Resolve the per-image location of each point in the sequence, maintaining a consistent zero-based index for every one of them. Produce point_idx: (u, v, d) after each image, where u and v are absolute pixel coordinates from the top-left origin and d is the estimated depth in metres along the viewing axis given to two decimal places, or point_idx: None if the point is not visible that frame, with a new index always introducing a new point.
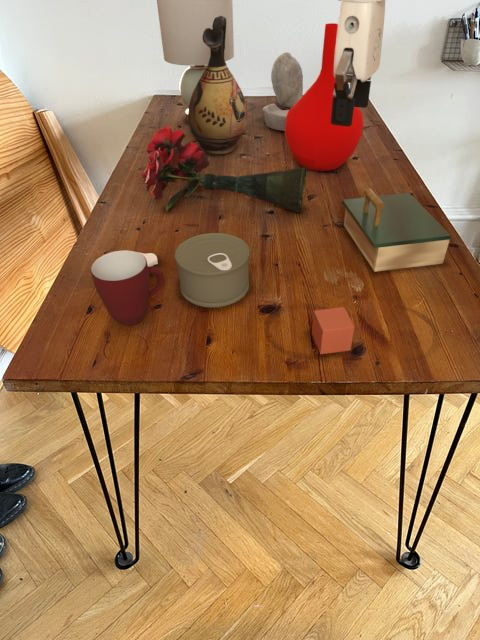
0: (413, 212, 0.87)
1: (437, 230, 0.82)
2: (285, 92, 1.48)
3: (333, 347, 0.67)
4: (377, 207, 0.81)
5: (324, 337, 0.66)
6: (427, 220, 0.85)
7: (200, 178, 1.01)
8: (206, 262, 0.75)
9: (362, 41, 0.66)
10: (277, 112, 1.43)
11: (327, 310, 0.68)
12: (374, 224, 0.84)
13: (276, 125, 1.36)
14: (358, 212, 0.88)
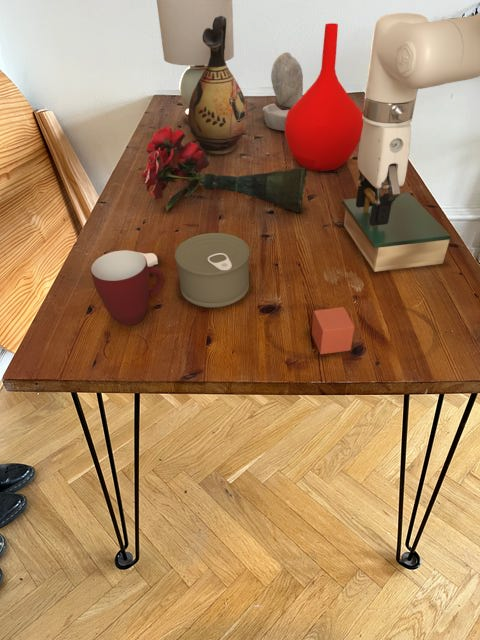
0: (413, 212, 0.87)
1: (437, 230, 0.82)
2: (285, 92, 1.48)
3: (333, 347, 0.67)
4: None
5: (324, 337, 0.66)
6: (427, 220, 0.85)
7: (200, 178, 1.01)
8: (206, 262, 0.75)
9: (405, 156, 0.74)
10: (277, 112, 1.43)
11: (327, 310, 0.68)
12: None
13: (276, 125, 1.36)
14: (358, 212, 0.88)
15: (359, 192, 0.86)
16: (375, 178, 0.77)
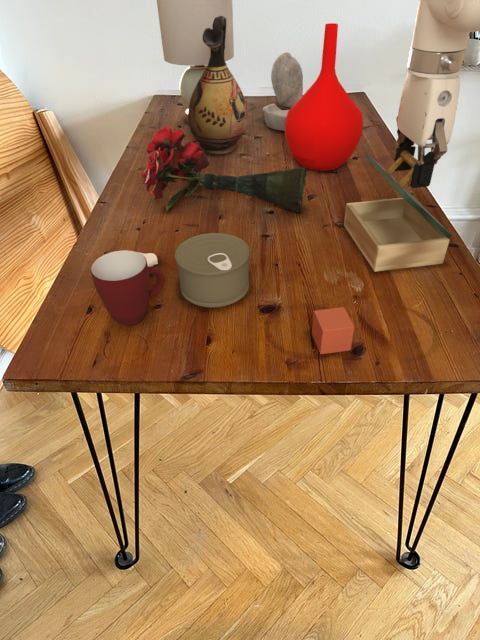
0: None
1: None
2: (285, 92, 1.48)
3: (333, 347, 0.67)
4: None
5: (324, 337, 0.66)
6: None
7: (200, 178, 1.01)
8: (206, 262, 0.75)
9: (453, 111, 0.70)
10: (277, 112, 1.43)
11: (327, 310, 0.68)
12: (400, 183, 0.79)
13: (276, 125, 1.36)
14: None
15: (398, 154, 0.82)
16: (420, 135, 0.73)
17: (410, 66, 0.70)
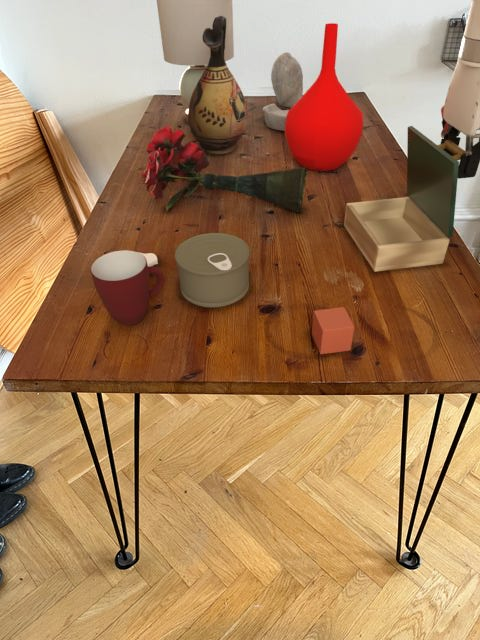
0: None
1: None
2: (285, 92, 1.48)
3: (333, 347, 0.67)
4: None
5: (324, 337, 0.66)
6: None
7: (200, 178, 1.01)
8: (206, 262, 0.75)
9: None
10: (277, 112, 1.43)
11: (327, 310, 0.68)
12: None
13: (276, 125, 1.36)
14: None
15: None
16: (469, 125, 0.73)
17: (462, 56, 0.70)
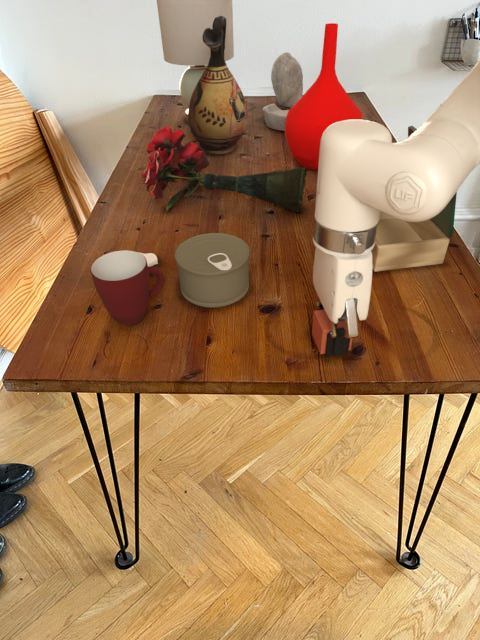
0: None
1: None
2: (285, 92, 1.48)
3: None
4: None
5: (324, 337, 0.66)
6: None
7: (200, 178, 1.01)
8: (206, 262, 0.75)
9: (366, 290, 0.58)
10: (277, 112, 1.43)
11: None
12: None
13: (276, 125, 1.36)
14: None
15: None
16: (330, 312, 0.61)
17: (314, 237, 0.58)
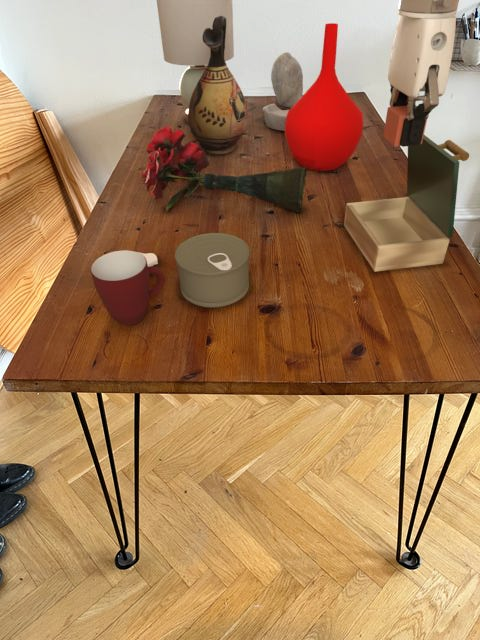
0: None
1: None
2: (285, 92, 1.48)
3: None
4: (464, 154, 0.77)
5: (400, 125, 0.72)
6: None
7: (200, 178, 1.01)
8: (206, 262, 0.75)
9: (448, 56, 0.64)
10: (277, 112, 1.43)
11: (400, 106, 0.74)
12: None
13: (276, 125, 1.36)
14: None
15: None
16: (412, 85, 0.67)
17: (401, 6, 0.64)
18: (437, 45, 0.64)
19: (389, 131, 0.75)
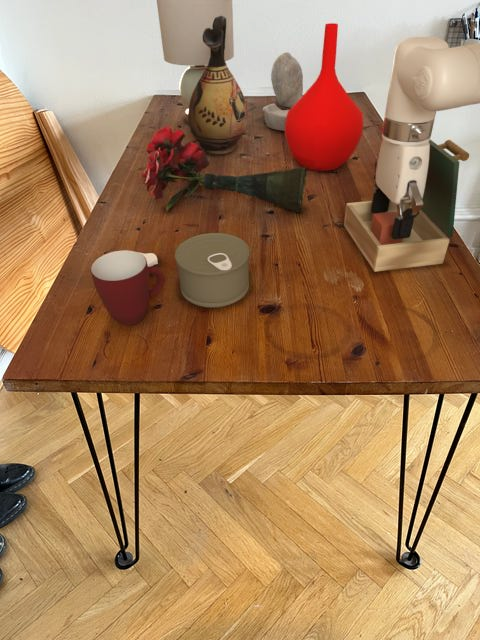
0: None
1: None
2: (285, 92, 1.48)
3: (388, 241, 0.87)
4: (464, 154, 0.77)
5: (383, 231, 0.85)
6: None
7: (200, 178, 1.01)
8: (206, 262, 0.75)
9: (424, 174, 0.76)
10: (277, 112, 1.43)
11: (383, 213, 0.88)
12: None
13: (276, 125, 1.36)
14: None
15: (374, 198, 0.88)
16: (394, 194, 0.79)
17: (384, 133, 0.76)
18: (414, 164, 0.76)
19: (374, 233, 0.88)
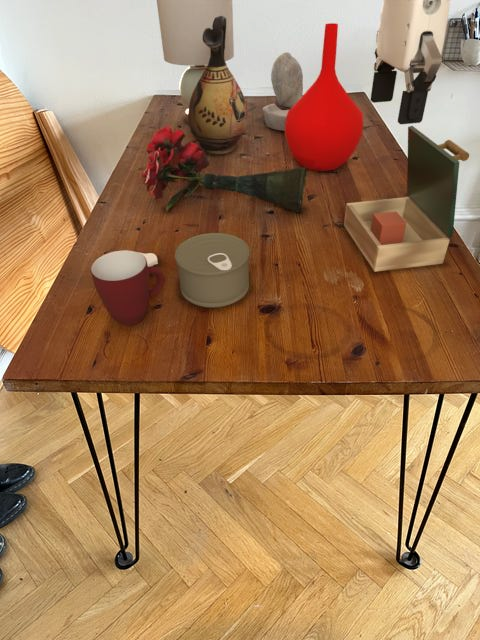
0: None
1: None
2: (285, 92, 1.48)
3: (388, 241, 0.87)
4: (464, 154, 0.77)
5: (383, 231, 0.85)
6: None
7: (200, 178, 1.01)
8: (206, 262, 0.75)
9: (443, 21, 0.56)
10: (277, 112, 1.43)
11: (383, 213, 0.88)
12: None
13: (276, 125, 1.36)
14: None
15: (375, 80, 0.68)
16: (402, 56, 0.59)
17: None
18: (430, 9, 0.56)
19: (374, 233, 0.88)
